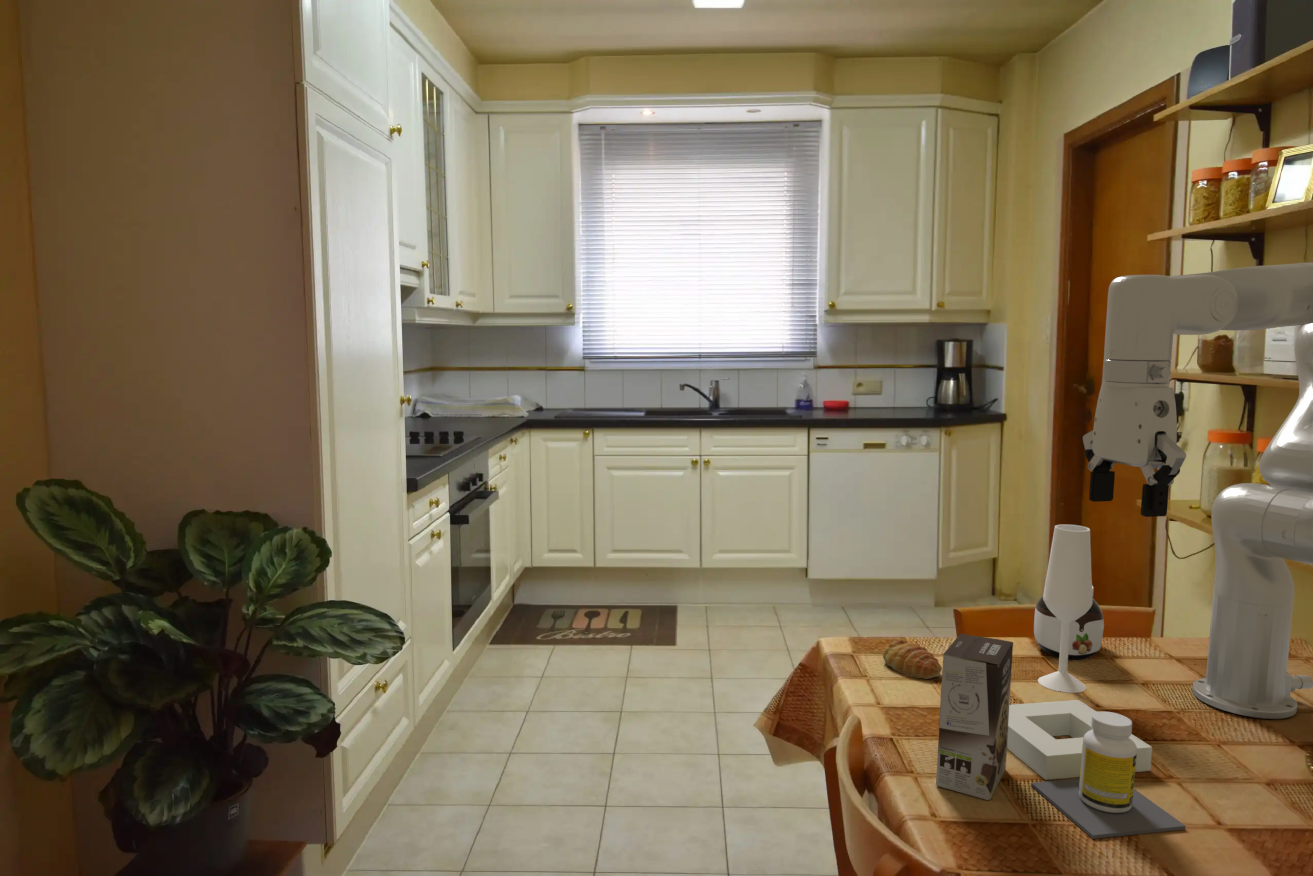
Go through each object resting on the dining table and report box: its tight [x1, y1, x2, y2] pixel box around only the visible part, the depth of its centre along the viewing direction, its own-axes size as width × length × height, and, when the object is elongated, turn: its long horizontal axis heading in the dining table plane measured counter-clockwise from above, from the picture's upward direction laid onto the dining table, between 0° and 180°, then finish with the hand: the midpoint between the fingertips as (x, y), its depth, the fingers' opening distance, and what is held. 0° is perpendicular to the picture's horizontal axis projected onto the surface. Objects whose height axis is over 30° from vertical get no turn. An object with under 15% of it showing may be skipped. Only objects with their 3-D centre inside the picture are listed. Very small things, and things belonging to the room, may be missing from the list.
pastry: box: [882, 638, 943, 680], centre depth 139 cm, size 9×7×4 cm
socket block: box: [1007, 699, 1153, 781], centre depth 113 cm, size 14×14×3 cm
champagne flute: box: [1037, 523, 1093, 694], centre depth 133 cm, size 7×7×24 cm
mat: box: [1030, 777, 1186, 840], centre depth 99 cm, size 11×11×1 cm
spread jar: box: [1033, 585, 1105, 661], centre depth 148 cm, size 12×11×12 cm
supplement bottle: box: [1079, 710, 1137, 813], centre depth 99 cm, size 5×5×10 cm
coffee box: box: [935, 633, 1014, 801], centre depth 105 cm, size 9×6×16 cm
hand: (1126, 508), depth 114 cm, fingers open, 9 cm apart
